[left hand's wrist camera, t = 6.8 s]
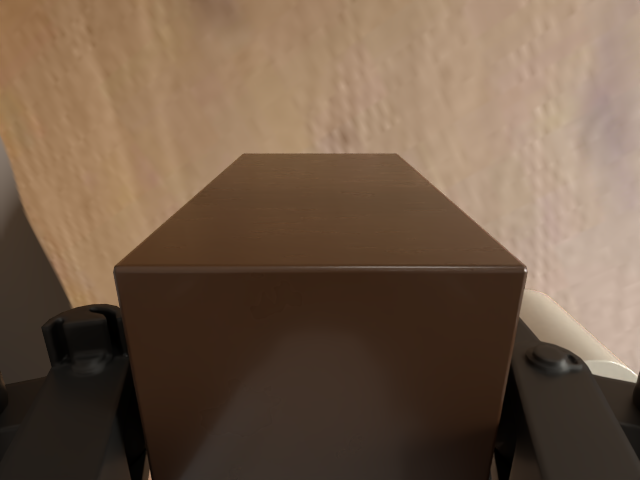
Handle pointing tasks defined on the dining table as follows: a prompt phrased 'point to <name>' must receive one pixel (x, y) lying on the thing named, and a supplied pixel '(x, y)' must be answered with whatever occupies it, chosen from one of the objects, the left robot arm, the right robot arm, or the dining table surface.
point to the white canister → (570, 335)
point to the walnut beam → (320, 326)
